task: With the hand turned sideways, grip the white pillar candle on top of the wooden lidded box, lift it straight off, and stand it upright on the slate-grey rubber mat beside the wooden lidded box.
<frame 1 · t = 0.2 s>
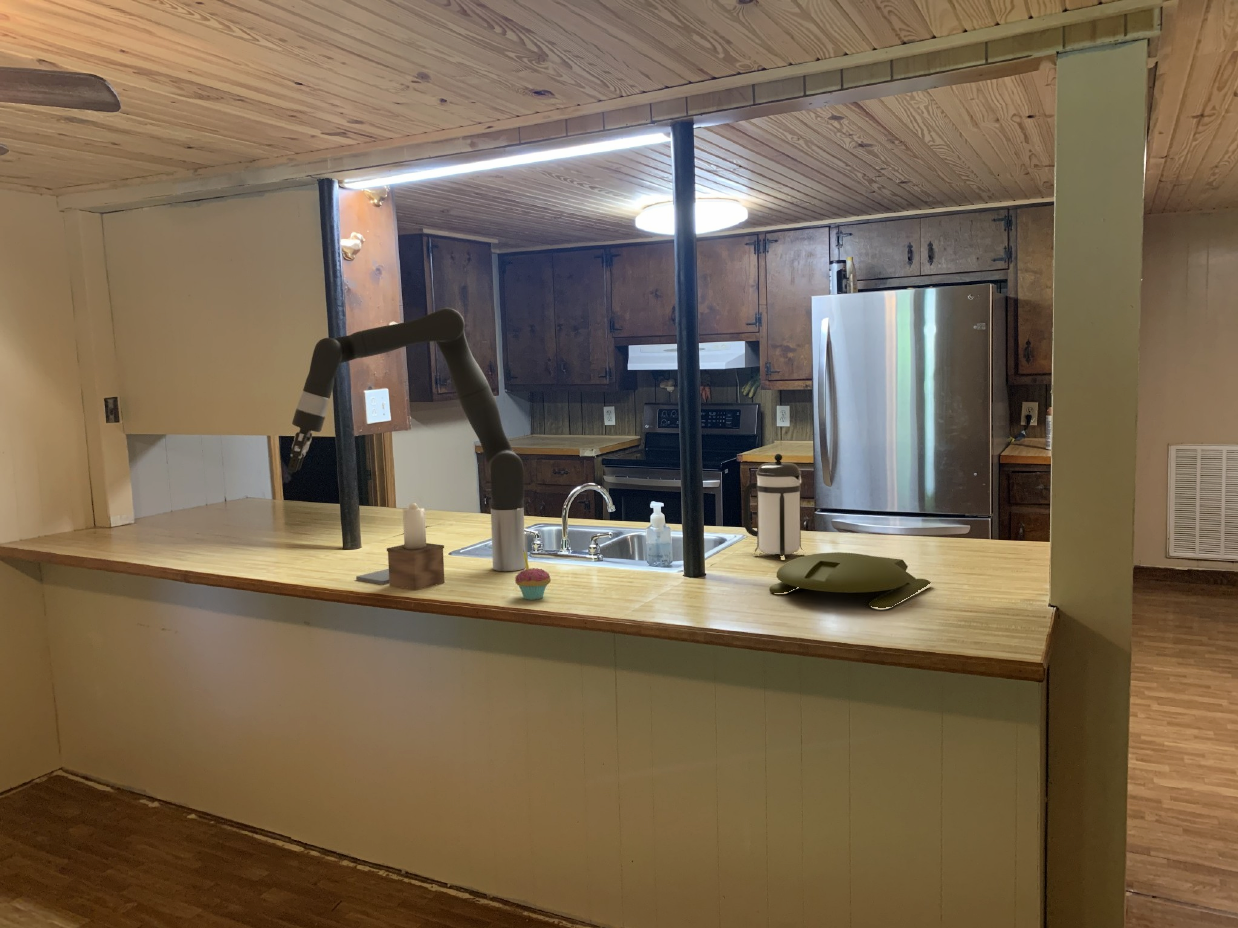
hand: (293, 470, 236), 31 cm above the counter, tool tilted 20°, fingers open, 8 cm apart
white pillar candle: (415, 546, 234), point 10 cm above the counter, touching wooden lidded box
wooden lidded box: (417, 584, 235), on the counter
spaceship: (845, 595, 216), on the counter
cupcake: (533, 597, 219), on the counter
mat: (387, 577, 244), on the counter
coffee press: (774, 556, 262), on the counter
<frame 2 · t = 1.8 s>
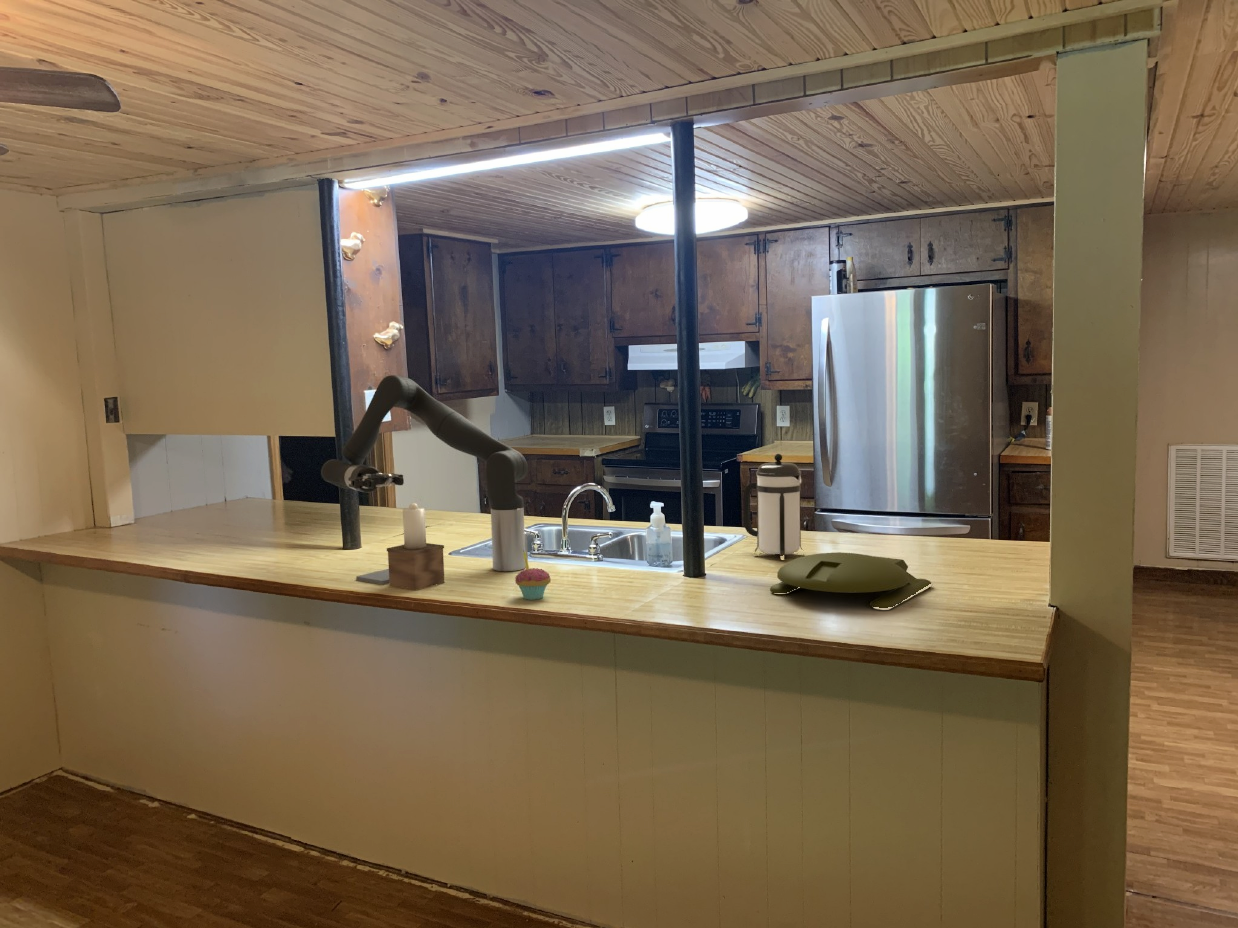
hand: (387, 482, 244), 26 cm above the counter, tool horizontal, fingers open, 8 cm apart
nothing on the counter moved.
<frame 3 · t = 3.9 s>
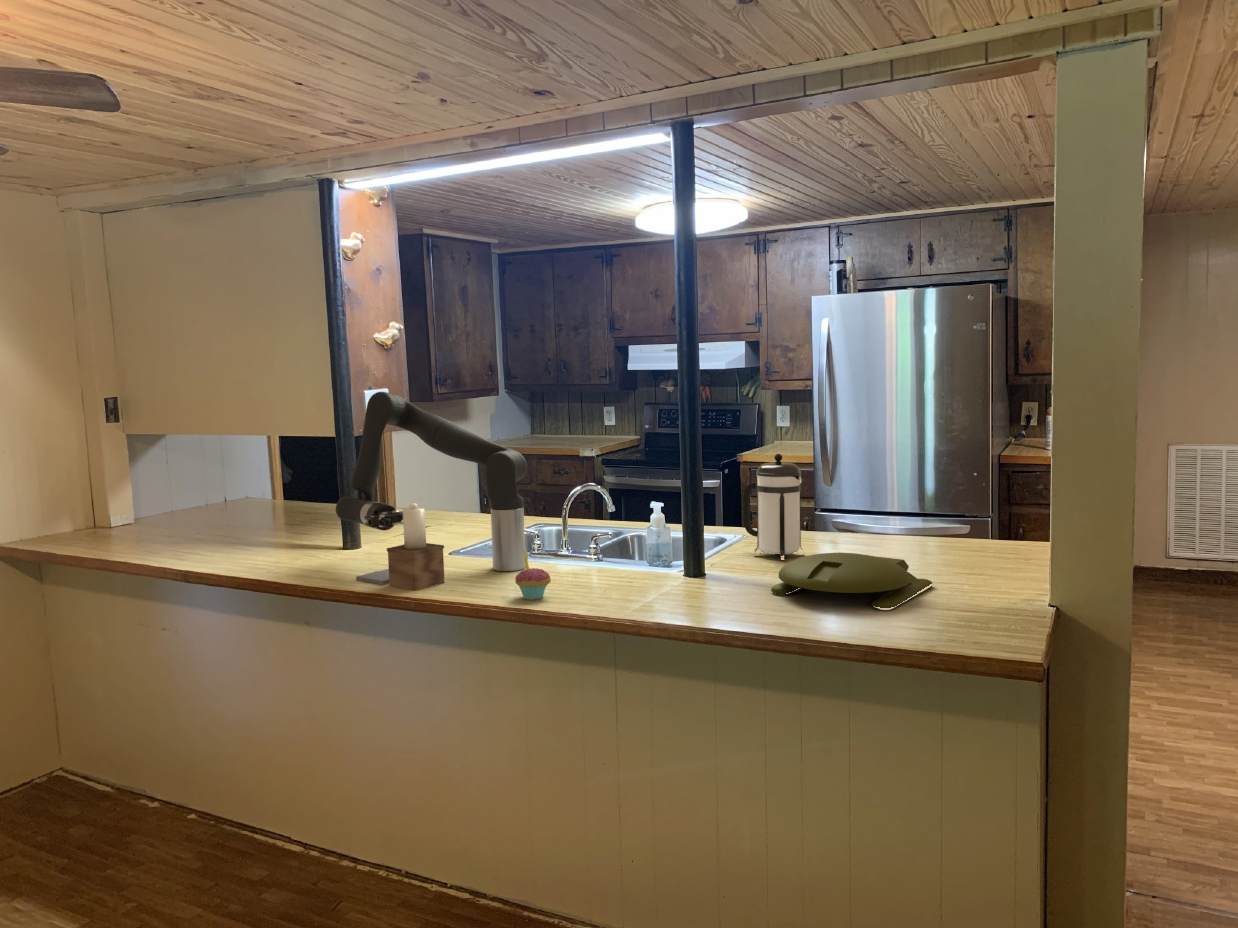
hand: (404, 521, 238), 16 cm above the counter, tool horizontal, fingers open, 8 cm apart
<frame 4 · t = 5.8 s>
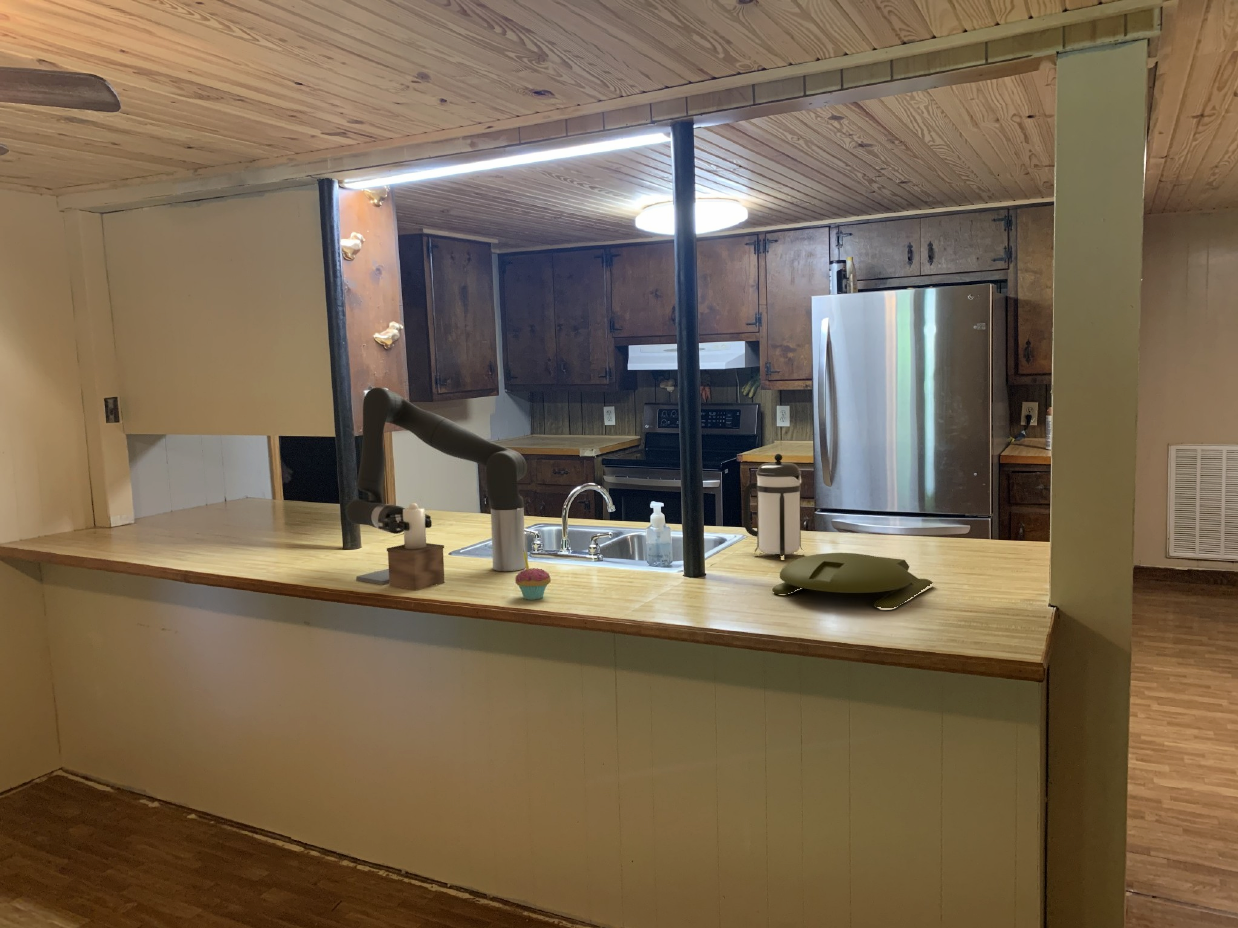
hand: (418, 525, 232), 16 cm above the counter, tool horizontal, fingers closed on white pillar candle, 5 cm apart
white pillar candle: (415, 546, 234), point 10 cm above the counter, touching wooden lidded box, gripper
everything else where it was.
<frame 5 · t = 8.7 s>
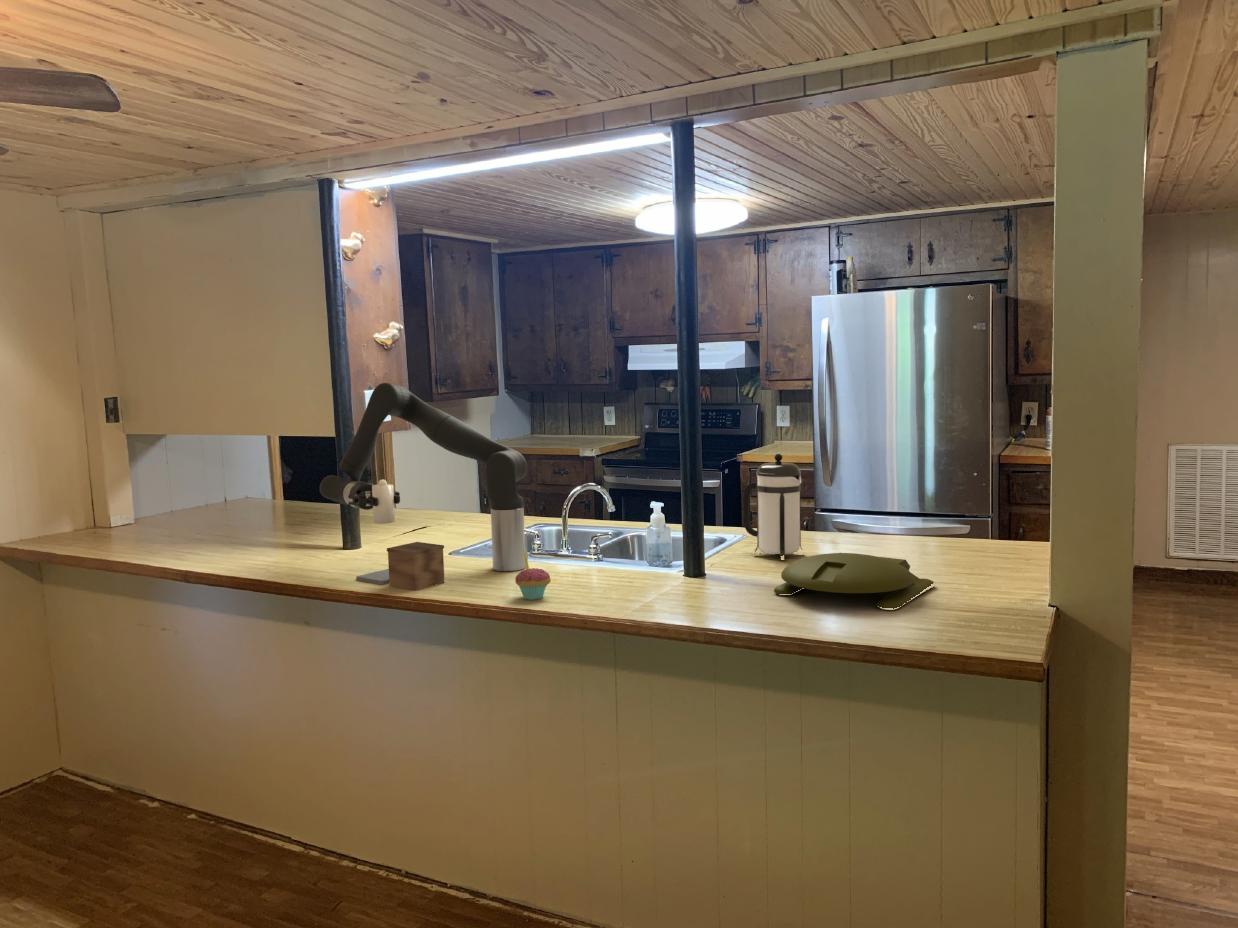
hand: (387, 500, 240), 21 cm above the counter, tool horizontal, fingers closed on white pillar candle, 5 cm apart
white pillar candle: (384, 521, 242), point 15 cm above the counter, touching gripper
when the fingers open (8 cm above the counter, at t = 11.4 s): white pillar candle drops 1 cm, resting on mat.
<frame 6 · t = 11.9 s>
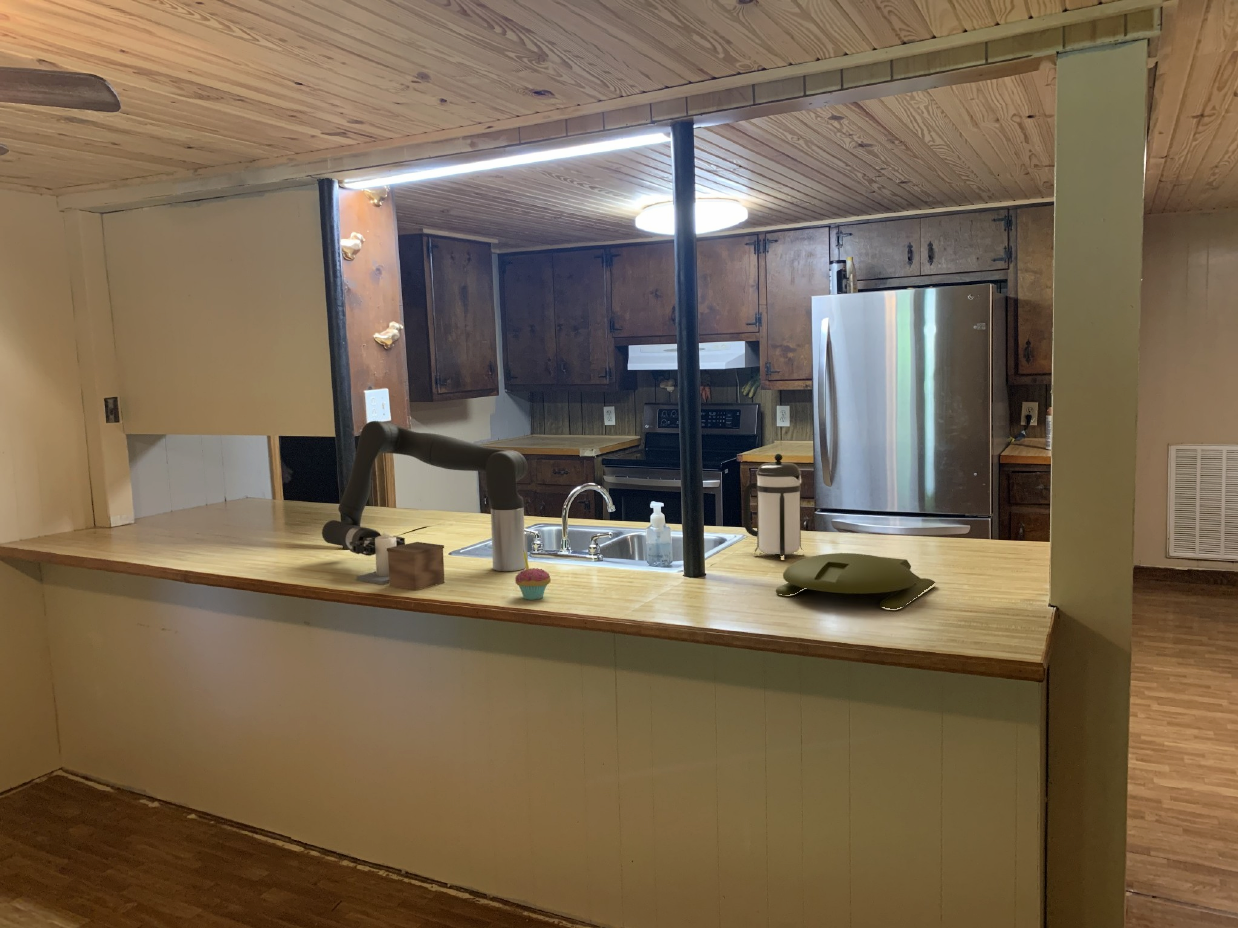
hand: (388, 548, 241), 9 cm above the counter, tool horizontal, fingers open, 8 cm apart
white pillar candle: (387, 574, 244), point 1 cm above the counter, touching mat
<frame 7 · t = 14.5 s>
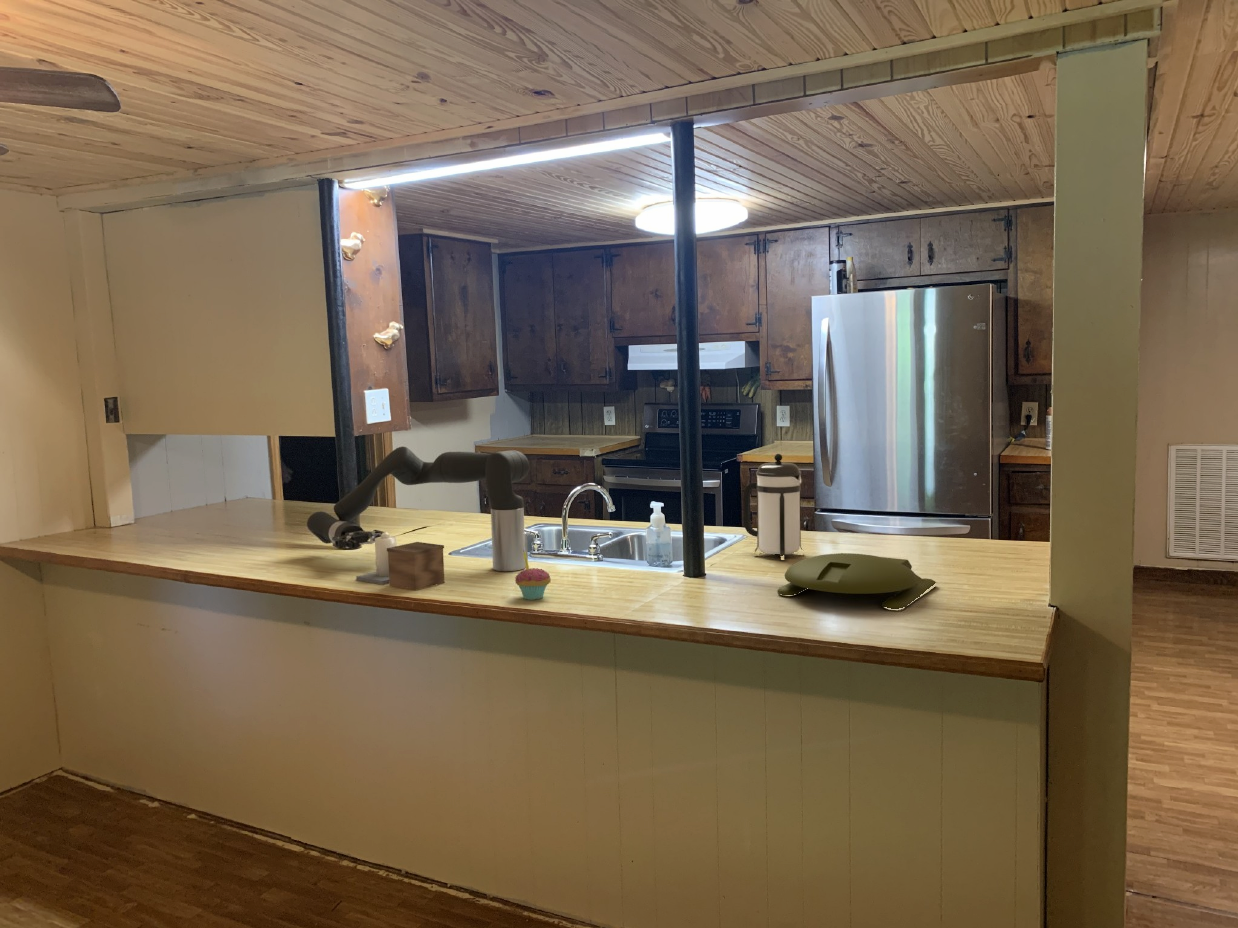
hand: (370, 542, 250), 8 cm above the counter, tool horizontal, fingers open, 8 cm apart
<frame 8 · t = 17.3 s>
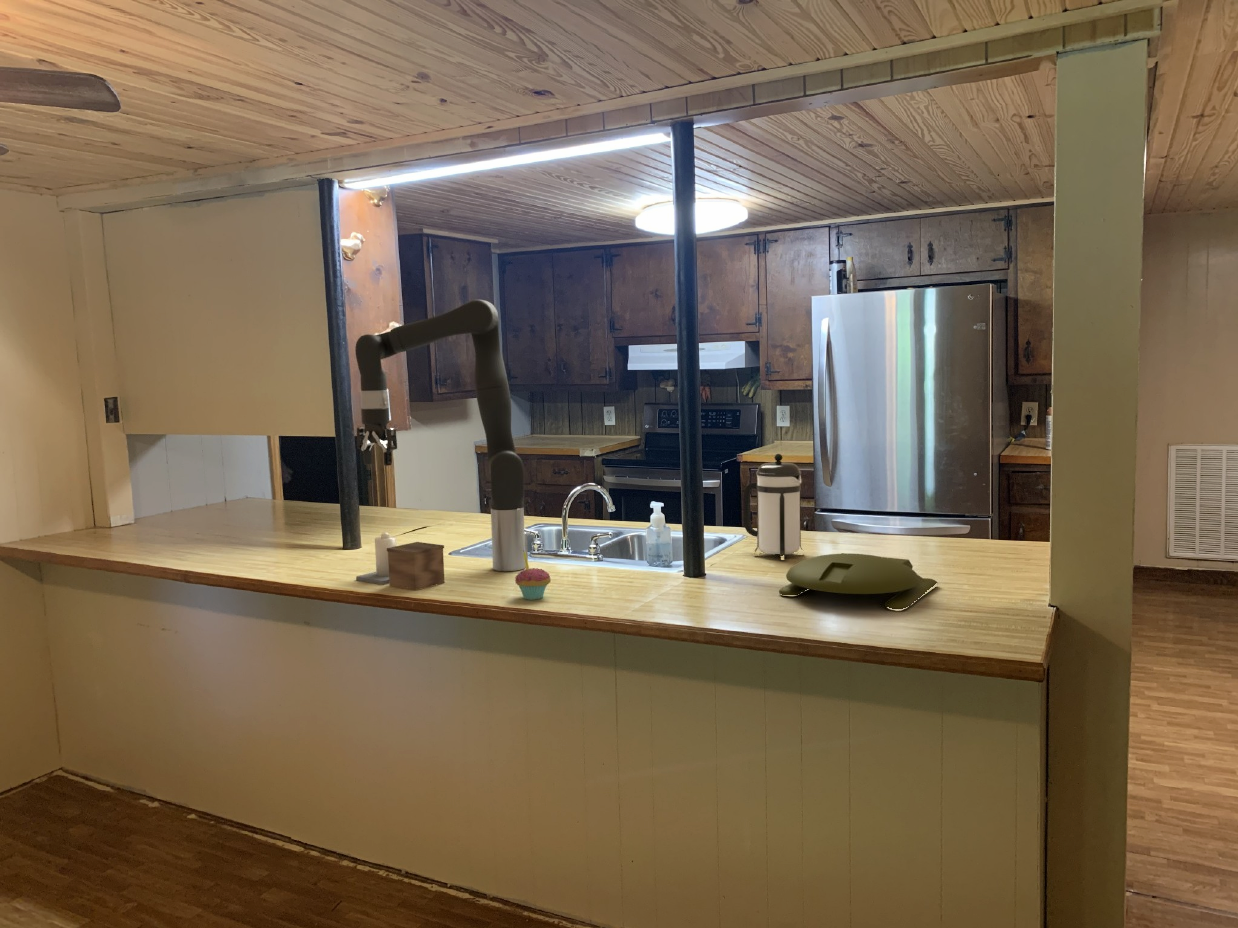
hand: (377, 464, 251), 30 cm above the counter, tool pointing down, fingers open, 8 cm apart
at the end: white pillar candle inside the target area on the mat (0.1 cm from its centre), point 1.0 cm above the mat's base; white pillar candle tilted 0°; the gripper is holding nothing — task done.
